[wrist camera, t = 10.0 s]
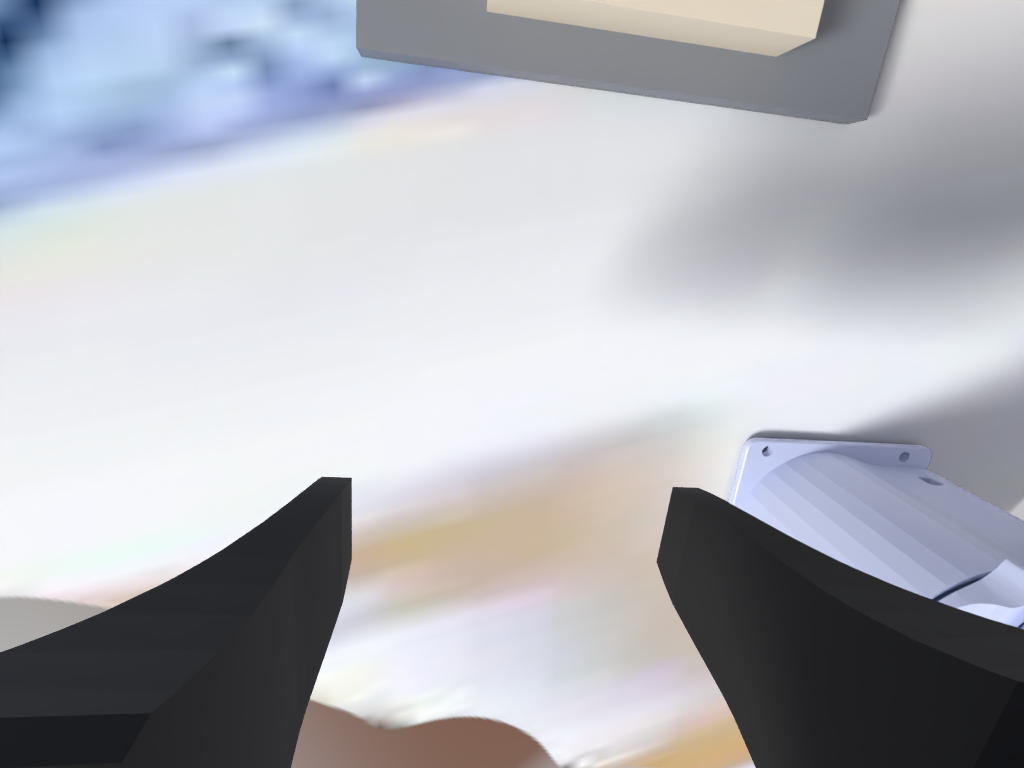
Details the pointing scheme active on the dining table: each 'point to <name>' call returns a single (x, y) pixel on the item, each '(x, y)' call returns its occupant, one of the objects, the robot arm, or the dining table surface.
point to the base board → (654, 47)
